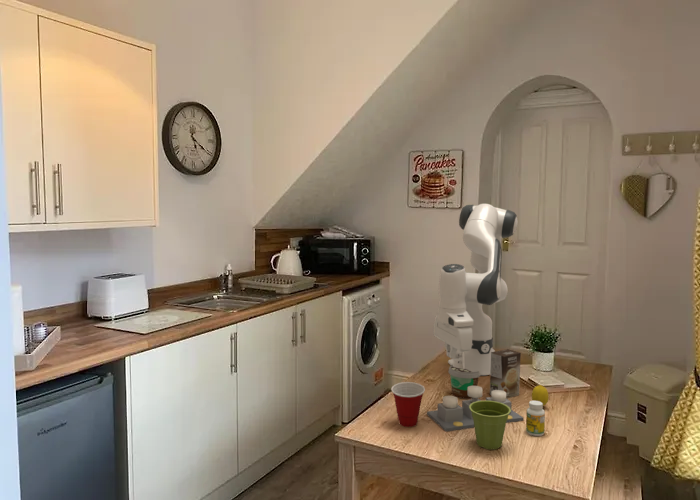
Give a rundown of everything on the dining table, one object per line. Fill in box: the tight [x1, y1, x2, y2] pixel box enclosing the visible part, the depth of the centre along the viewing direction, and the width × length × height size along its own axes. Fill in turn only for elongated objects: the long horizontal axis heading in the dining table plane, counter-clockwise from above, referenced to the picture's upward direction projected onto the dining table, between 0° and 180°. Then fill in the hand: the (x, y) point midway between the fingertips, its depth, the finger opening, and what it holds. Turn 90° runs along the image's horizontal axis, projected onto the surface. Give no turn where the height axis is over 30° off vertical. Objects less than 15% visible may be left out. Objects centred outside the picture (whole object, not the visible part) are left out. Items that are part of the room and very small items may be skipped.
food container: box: [448, 364, 481, 400], centre depth 202 cm, size 12×6×10 cm, turn 45°
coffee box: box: [489, 348, 522, 399], centre depth 202 cm, size 9×6×16 cm
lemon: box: [531, 384, 549, 406], centre depth 191 cm, size 6×6×8 cm
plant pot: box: [469, 400, 512, 450], centre depth 163 cm, size 12×12×11 cm
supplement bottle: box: [525, 400, 546, 437], centre depth 171 cm, size 5×5×10 cm
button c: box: [442, 395, 459, 408], centre depth 180 cm, size 5×5×6 cm
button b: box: [467, 385, 483, 403], centre depth 182 cm, size 5×5×6 cm
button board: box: [426, 396, 524, 432], centre depth 183 cm, size 14×28×5 cm, turn 107°
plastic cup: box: [390, 381, 426, 428], centre depth 177 cm, size 11×11×12 cm
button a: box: [490, 390, 507, 402], centre depth 185 cm, size 5×5×6 cm
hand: (450, 357), depth 179 cm, fingers closed
